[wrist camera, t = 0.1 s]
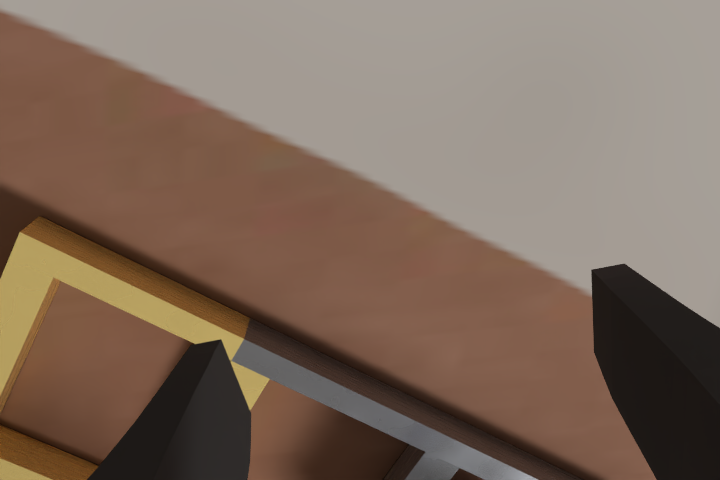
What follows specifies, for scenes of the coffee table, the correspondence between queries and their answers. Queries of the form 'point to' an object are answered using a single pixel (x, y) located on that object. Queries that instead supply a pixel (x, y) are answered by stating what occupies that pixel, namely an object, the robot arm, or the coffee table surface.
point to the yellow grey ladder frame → (247, 356)
